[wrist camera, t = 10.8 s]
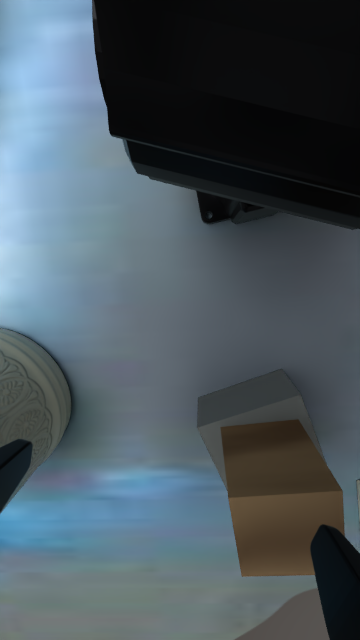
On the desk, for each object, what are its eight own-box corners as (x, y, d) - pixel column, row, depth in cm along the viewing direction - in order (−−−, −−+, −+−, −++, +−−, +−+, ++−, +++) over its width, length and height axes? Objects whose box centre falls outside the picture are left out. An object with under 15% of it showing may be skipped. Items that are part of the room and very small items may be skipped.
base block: (198, 395, 20) (197, 427, 16) (280, 367, 19) (300, 394, 15) (228, 462, 21) (234, 506, 17) (308, 439, 20) (333, 481, 16)
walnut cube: (220, 426, 16) (228, 497, 11) (298, 419, 15) (342, 490, 11) (230, 487, 17) (241, 576, 12) (303, 482, 16) (346, 574, 12)
